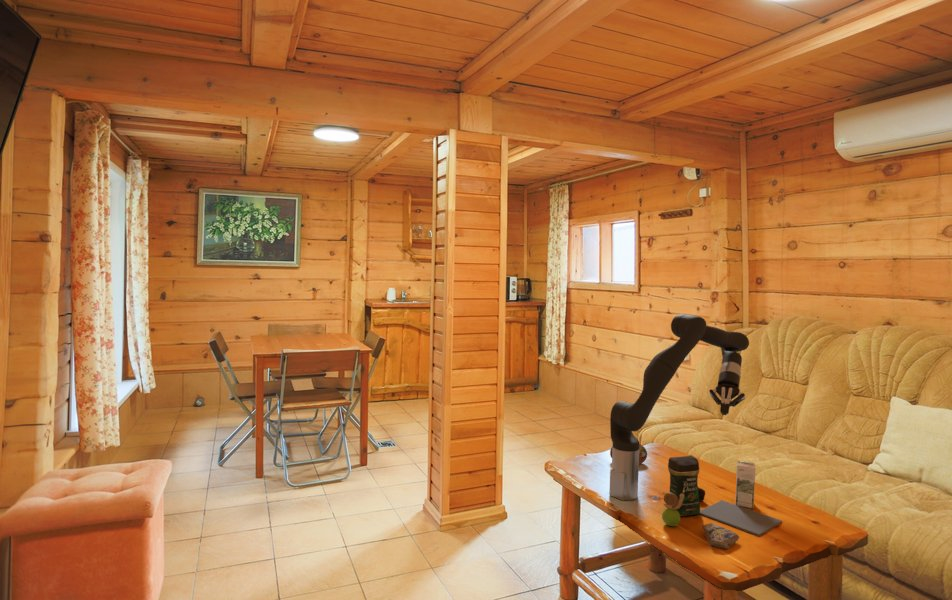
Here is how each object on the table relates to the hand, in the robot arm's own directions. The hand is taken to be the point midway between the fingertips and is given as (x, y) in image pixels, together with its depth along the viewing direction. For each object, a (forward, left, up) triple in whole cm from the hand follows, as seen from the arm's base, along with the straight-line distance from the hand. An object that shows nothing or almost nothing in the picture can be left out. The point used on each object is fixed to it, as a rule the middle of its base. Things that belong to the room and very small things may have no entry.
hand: (724, 413), depth 209 cm
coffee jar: (-32, -4, -28) cm, 43 cm away
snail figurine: (-44, -7, -28) cm, 53 cm away
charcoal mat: (-21, -17, -28) cm, 39 cm away
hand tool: (-13, +7, -28) cm, 32 cm away
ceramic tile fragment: (-41, -21, -28) cm, 54 cm away
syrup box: (-9, -13, -28) cm, 32 cm away
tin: (-6, +37, -28) cm, 47 cm away
